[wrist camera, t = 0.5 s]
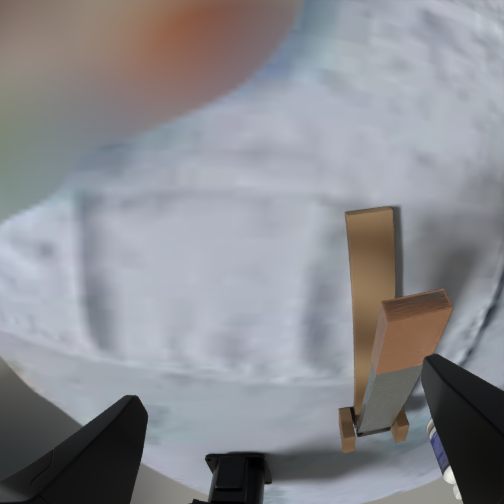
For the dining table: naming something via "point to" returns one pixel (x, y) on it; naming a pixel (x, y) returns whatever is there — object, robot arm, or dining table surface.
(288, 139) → the dining table surface
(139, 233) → the dining table surface
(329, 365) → the dining table surface
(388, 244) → the walnut tong base
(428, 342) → the metal tong arm
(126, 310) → the dining table surface
